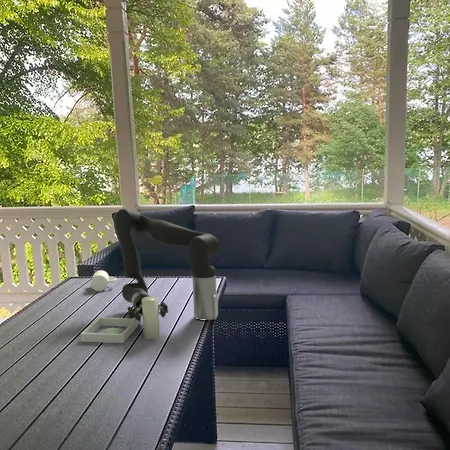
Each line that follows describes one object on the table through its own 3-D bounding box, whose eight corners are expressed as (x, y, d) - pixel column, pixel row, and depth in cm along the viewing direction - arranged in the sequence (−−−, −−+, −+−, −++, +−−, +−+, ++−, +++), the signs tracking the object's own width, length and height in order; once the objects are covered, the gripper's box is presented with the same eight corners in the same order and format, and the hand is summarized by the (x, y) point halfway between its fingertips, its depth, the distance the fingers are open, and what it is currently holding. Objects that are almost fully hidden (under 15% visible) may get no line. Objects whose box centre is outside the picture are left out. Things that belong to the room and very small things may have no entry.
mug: (91, 291, 215) (90, 276, 214) (93, 286, 224) (92, 270, 223) (116, 289, 217) (115, 274, 216) (117, 284, 227) (116, 269, 225)
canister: (161, 333, 162) (159, 296, 160) (157, 339, 157) (155, 301, 155) (146, 332, 163) (144, 296, 161) (141, 338, 158) (139, 301, 155)
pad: (126, 329, 167) (126, 328, 167) (117, 338, 158) (117, 337, 158) (104, 328, 168) (104, 327, 168) (94, 338, 160) (94, 337, 159)
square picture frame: (138, 325, 170) (137, 318, 169) (123, 343, 155) (122, 335, 154) (99, 324, 172) (99, 317, 172) (81, 341, 157) (80, 333, 156)
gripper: (123, 296, 169) (131, 309, 154) (160, 291, 174) (170, 303, 159) (124, 315, 170) (132, 330, 155) (161, 309, 175) (171, 323, 160)
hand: (151, 316), depth 157 cm, fingers open, 8 cm apart
